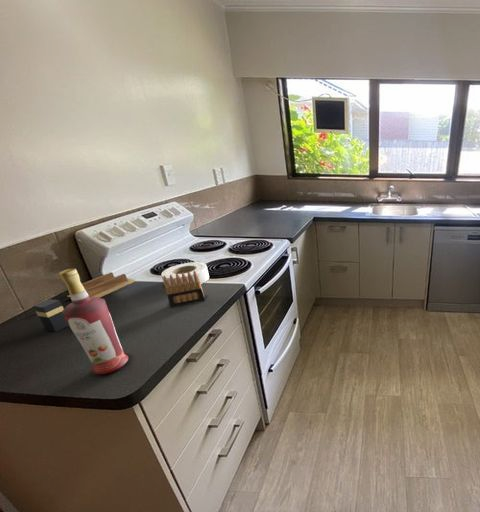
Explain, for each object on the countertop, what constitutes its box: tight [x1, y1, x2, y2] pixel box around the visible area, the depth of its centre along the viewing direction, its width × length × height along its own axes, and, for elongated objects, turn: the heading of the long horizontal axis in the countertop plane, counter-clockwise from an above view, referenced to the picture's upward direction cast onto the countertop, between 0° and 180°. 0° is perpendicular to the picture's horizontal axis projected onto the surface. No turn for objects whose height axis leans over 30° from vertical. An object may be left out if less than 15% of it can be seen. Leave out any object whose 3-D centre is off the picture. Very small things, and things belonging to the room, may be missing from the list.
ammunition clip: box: [162, 271, 206, 308], centre depth 102 cm, size 11×2×12 cm, turn 117°
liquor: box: [58, 268, 129, 375], centre depth 69 cm, size 7×7×28 cm
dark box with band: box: [32, 298, 70, 333], centre depth 89 cm, size 4×4×9 cm
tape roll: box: [160, 261, 210, 290], centre depth 118 cm, size 16×16×6 cm
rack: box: [66, 271, 135, 300], centre depth 112 cm, size 11×16×4 cm
